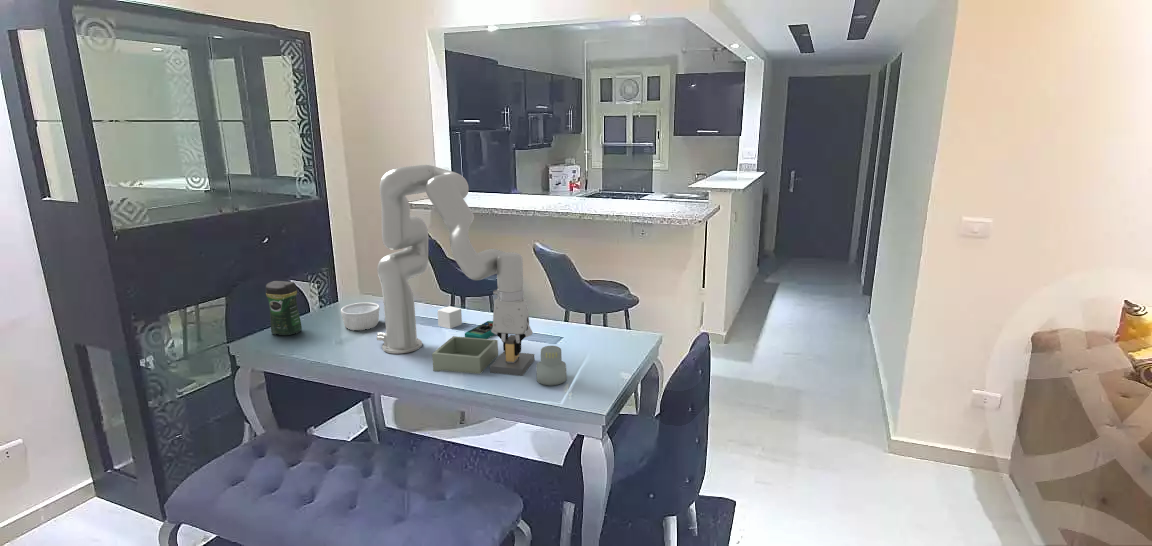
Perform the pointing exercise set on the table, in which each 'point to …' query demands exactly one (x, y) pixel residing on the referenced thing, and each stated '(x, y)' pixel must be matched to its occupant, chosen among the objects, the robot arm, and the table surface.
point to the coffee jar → (283, 307)
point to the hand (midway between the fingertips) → (512, 353)
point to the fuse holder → (512, 364)
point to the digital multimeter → (481, 331)
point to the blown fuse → (511, 349)
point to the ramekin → (360, 315)
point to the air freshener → (551, 367)
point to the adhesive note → (449, 317)
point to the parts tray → (465, 355)
